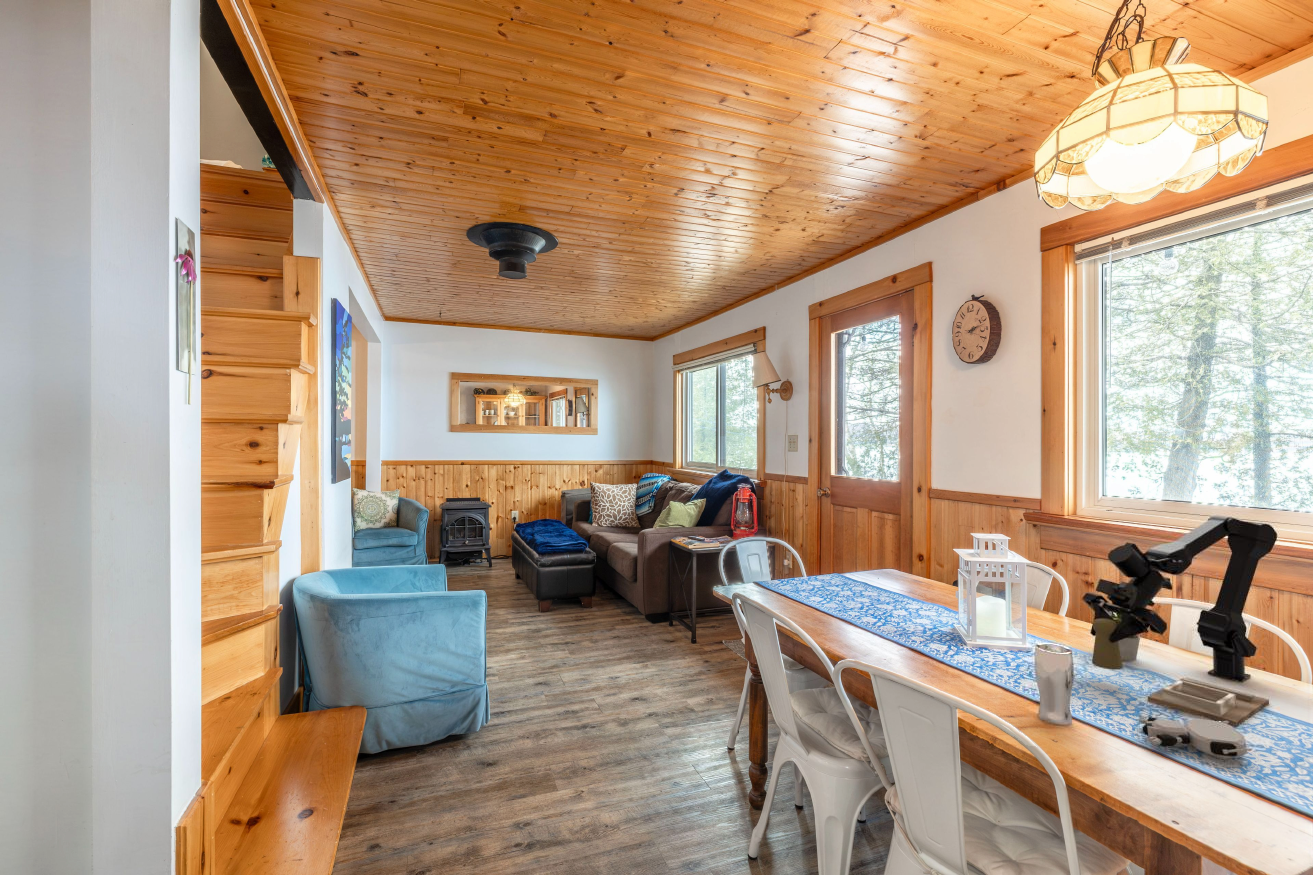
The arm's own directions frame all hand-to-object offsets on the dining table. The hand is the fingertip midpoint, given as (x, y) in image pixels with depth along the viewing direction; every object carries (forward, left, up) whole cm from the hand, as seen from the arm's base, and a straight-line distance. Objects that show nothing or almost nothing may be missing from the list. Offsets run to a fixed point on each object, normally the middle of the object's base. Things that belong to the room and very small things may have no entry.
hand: (1101, 637), depth 146 cm
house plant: (-25, -6, -11) cm, 28 cm away
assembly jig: (-7, +18, -11) cm, 22 cm away
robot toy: (+21, +23, -11) cm, 33 cm away
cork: (-1, +1, -7) cm, 7 cm away
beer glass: (+30, +4, -11) cm, 32 cm away
